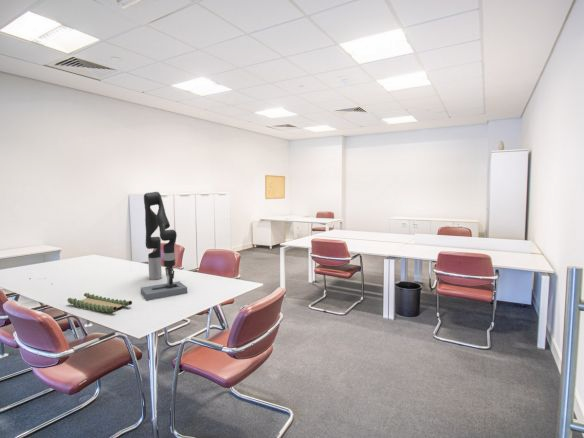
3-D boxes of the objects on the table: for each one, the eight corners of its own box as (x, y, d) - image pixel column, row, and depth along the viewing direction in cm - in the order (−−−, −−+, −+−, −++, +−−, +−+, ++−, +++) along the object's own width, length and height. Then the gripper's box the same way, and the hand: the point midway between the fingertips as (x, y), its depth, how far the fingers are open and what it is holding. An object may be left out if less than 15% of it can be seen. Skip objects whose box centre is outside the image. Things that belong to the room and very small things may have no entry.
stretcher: (133, 307, 196) (133, 299, 196) (112, 316, 183) (111, 307, 183) (88, 298, 212) (88, 291, 212) (65, 306, 199) (65, 298, 199)
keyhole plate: (140, 293, 223) (140, 287, 222) (179, 286, 238) (179, 281, 237) (146, 300, 208) (146, 294, 208) (187, 293, 223) (187, 287, 223)
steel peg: (164, 291, 226) (163, 274, 225) (173, 289, 230) (173, 272, 229) (166, 293, 221) (166, 276, 220) (176, 291, 225) (175, 274, 223)
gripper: (160, 257, 227) (161, 281, 228) (166, 261, 215) (167, 286, 217) (171, 256, 231) (172, 280, 233) (177, 260, 220) (178, 285, 221)
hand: (170, 283), depth 225 cm, fingers closed on steel peg, 3 cm apart
